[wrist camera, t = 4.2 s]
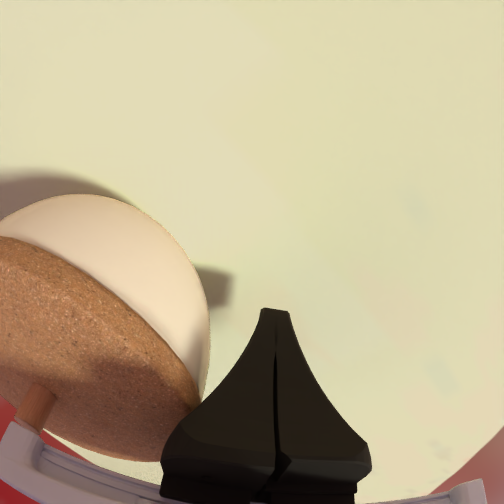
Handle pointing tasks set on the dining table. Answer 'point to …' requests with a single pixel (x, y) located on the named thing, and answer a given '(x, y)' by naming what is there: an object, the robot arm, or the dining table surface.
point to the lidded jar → (100, 325)
